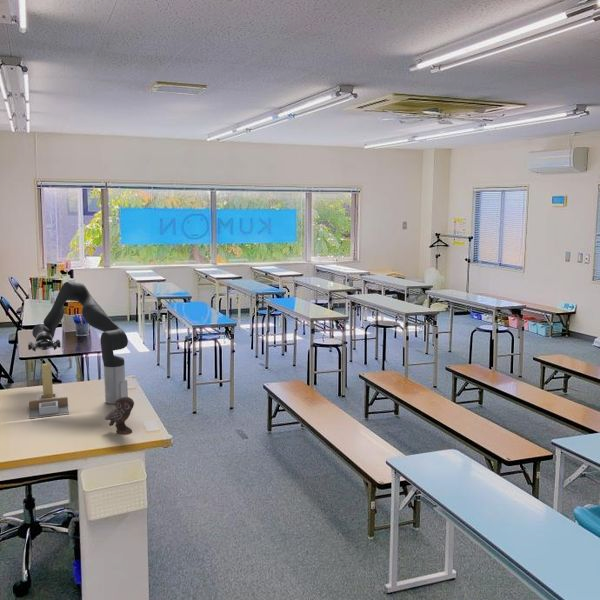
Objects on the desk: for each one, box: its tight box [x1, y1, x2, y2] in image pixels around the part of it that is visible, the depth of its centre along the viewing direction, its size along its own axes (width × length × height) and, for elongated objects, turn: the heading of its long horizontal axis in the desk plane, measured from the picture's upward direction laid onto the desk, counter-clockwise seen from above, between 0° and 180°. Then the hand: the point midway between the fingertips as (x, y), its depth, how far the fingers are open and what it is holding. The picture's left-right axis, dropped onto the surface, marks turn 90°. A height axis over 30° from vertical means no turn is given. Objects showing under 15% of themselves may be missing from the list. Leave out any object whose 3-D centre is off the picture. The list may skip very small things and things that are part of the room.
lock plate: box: [28, 392, 70, 420], centre depth 281 cm, size 24×16×4 cm, turn 22°
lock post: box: [41, 362, 54, 399], centre depth 286 cm, size 4×4×18 cm
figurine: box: [104, 396, 135, 435], centre depth 251 cm, size 13×6×15 cm, turn 65°
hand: (44, 348), depth 293 cm, fingers open, 8 cm apart
